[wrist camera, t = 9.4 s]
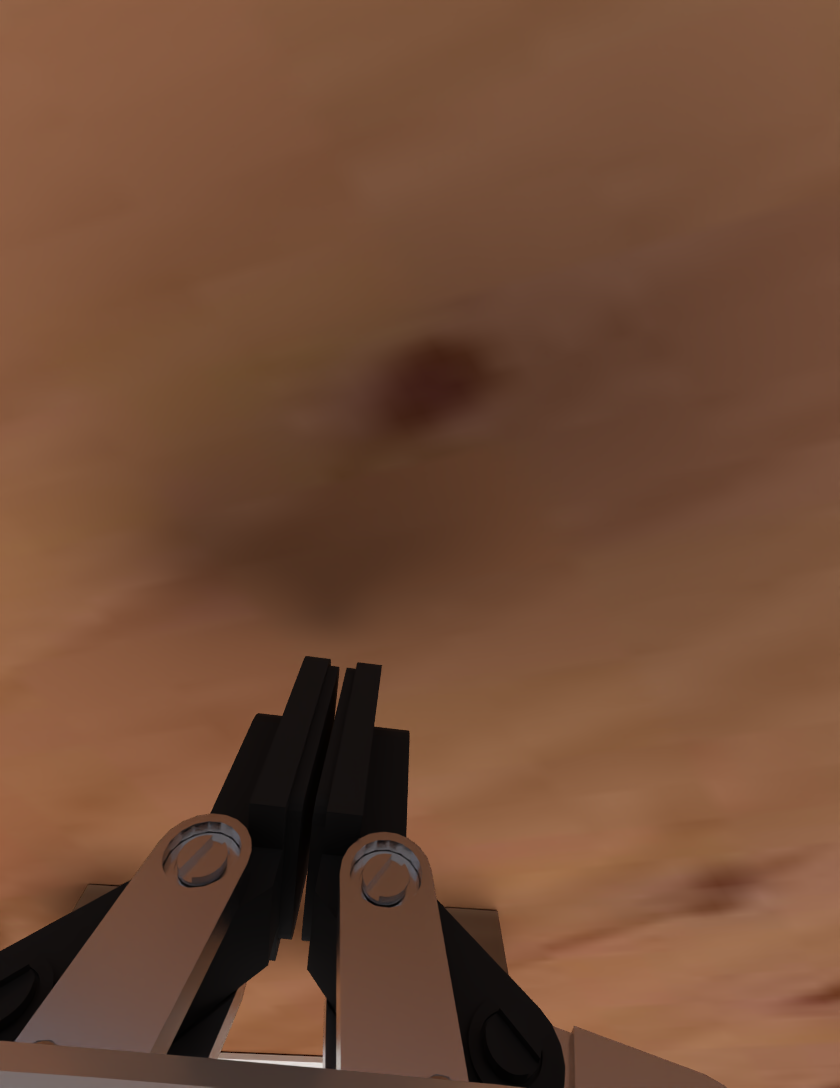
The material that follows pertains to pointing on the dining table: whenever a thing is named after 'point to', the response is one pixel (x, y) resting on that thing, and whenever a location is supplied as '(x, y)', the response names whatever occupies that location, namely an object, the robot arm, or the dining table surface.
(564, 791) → the dining table surface
